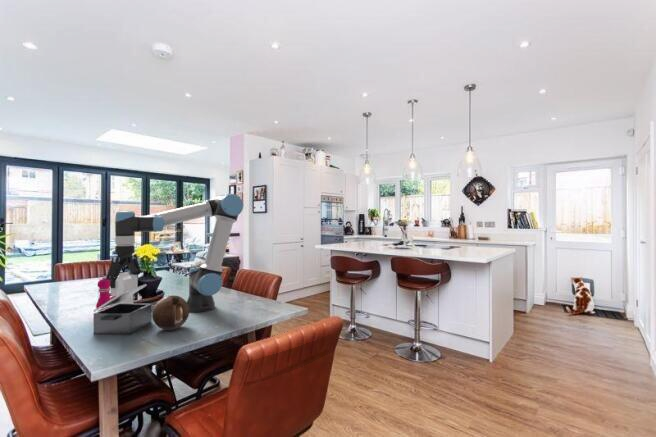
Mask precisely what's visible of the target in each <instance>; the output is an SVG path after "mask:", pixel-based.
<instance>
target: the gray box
mask: <svg viewBox="0 0 656 437" xmlns="http://www.w3.org/2000/svg"><path fill="white" fill-rule="evenodd" d="M150 324H152V304H151V303H133V304H116V305H113V306H111V307H109V308H106V309H104V310H101V311H96V312H94V313H93V335H112V336H113V335H114V336H115V335H121V336H123V335H124V336H125V335H126V336H130V335H132V334H134V333H135V332H138V331H139V330H141V329H143V328H145V327H147V326H148V325H150Z"/></svg>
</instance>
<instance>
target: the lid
mask: <svg viewBox="0 0 656 437" xmlns="http://www.w3.org/2000/svg"><path fill="white" fill-rule="evenodd" d="M147 286H148V285H147V284H146V283H144V284H142V285H139V286H137V287H136V288H133V289H130V290H127V291H124V292H122V293H121V294H119V295H117V296H114V295H111V296H110V299H111V300H109V301H108V302H106V303H105V304H103V305H101V306H100V307H98V308H97V309H96V308H95V309H94V310H93V312H94V313H96V312H98V311H99V310H101V309H104V308H106V307H109V306H111V305H113V306H114V304H117V303H119V302H121V301H123V300H124V299H126V298H128V297H129V296H131V295H132V294H133V295H134V294H135V293H137V292H139V291H140V290H142V289H144V288H146V287H147Z"/></svg>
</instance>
